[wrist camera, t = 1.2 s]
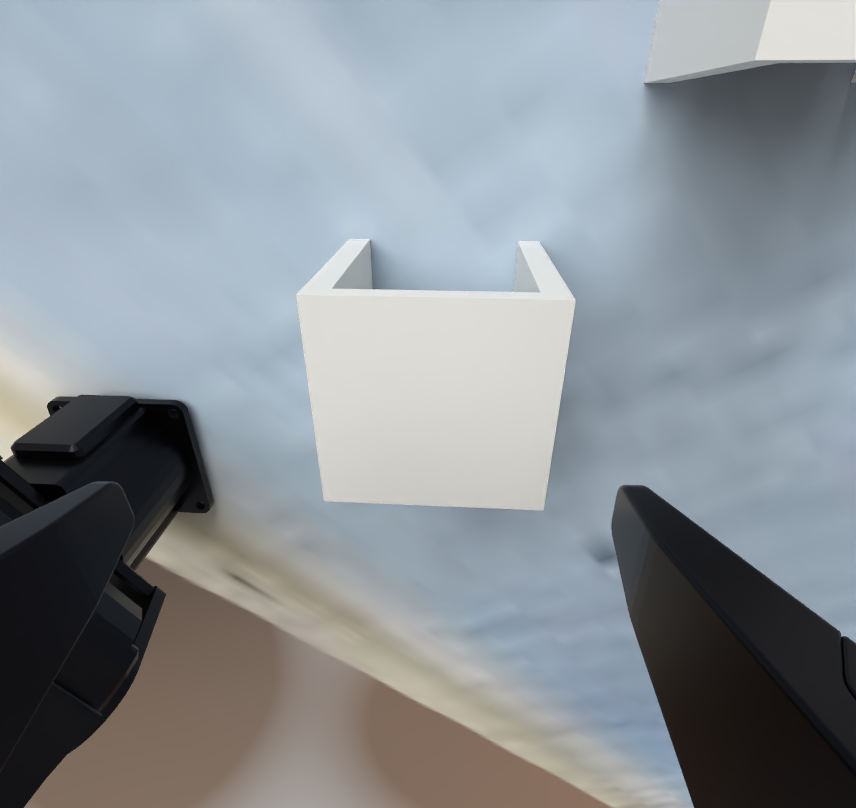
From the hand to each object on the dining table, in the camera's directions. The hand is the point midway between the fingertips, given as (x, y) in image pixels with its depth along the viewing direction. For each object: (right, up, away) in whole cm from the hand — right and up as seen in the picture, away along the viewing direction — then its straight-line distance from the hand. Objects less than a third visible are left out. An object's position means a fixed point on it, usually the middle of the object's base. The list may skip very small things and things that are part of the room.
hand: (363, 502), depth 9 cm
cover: (+2, +5, +12) cm, 13 cm away
